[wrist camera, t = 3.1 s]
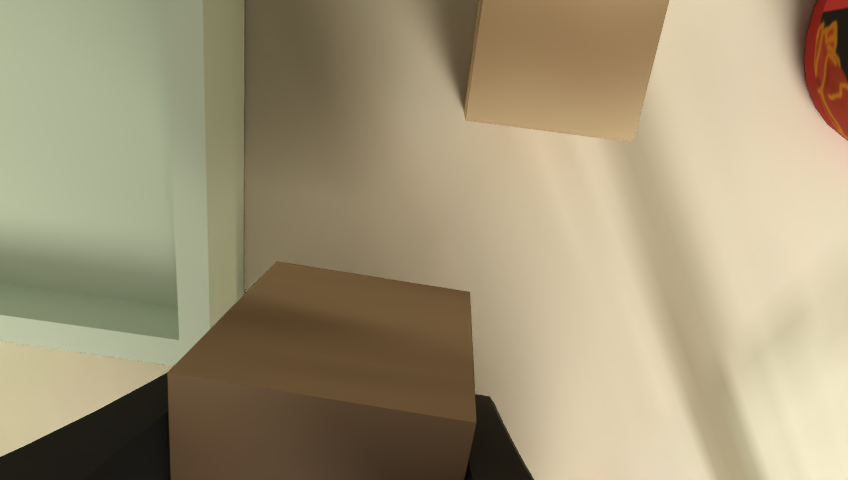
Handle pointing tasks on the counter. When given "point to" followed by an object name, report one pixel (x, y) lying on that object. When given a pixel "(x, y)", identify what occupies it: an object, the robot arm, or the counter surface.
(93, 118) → the tray
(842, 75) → the canned food
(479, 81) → the block
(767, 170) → the counter surface
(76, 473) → the robot arm
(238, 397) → the block
